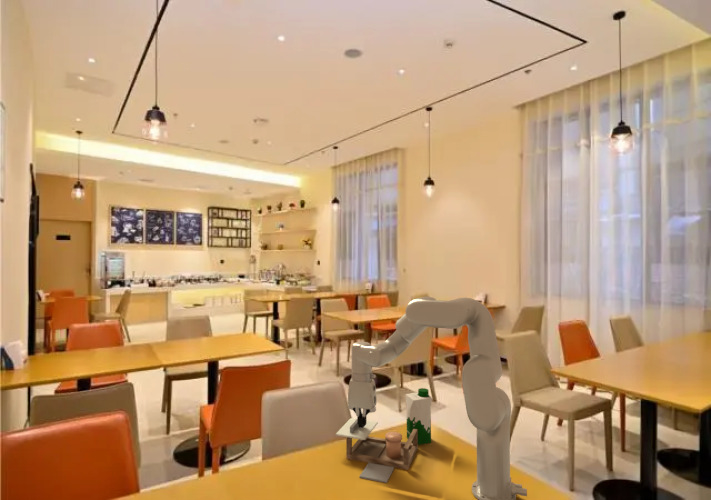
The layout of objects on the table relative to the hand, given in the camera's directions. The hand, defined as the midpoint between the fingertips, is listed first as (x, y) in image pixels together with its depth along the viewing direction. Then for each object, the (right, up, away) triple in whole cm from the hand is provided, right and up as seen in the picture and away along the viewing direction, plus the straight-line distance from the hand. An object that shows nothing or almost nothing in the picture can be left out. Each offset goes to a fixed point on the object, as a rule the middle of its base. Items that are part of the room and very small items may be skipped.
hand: (361, 426), depth 147 cm
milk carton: (+22, -10, +8) cm, 25 cm away
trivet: (+5, -9, -16) cm, 19 cm away
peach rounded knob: (+11, -8, -4) cm, 15 cm away
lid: (-2, -1, +1) cm, 2 cm away
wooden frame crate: (+8, -9, -3) cm, 12 cm away
